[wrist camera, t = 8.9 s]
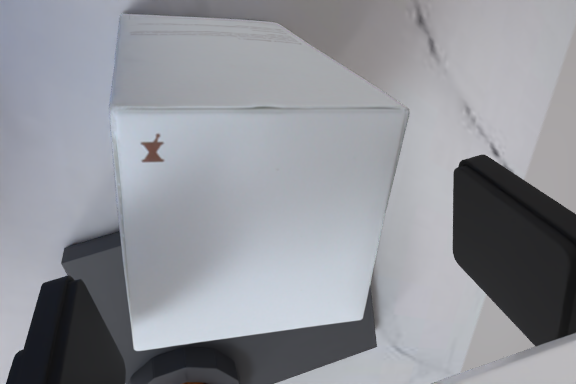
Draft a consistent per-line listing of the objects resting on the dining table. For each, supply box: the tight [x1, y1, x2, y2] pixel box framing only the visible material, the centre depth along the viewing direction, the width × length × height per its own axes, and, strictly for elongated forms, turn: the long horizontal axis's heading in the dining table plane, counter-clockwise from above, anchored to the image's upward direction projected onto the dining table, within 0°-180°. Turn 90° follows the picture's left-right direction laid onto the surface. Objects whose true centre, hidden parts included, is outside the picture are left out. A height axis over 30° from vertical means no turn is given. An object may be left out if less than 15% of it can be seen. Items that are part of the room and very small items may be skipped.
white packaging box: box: [109, 14, 409, 351], centre depth 18 cm, size 7×7×13 cm
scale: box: [61, 232, 377, 384], centre depth 29 cm, size 16×15×3 cm
